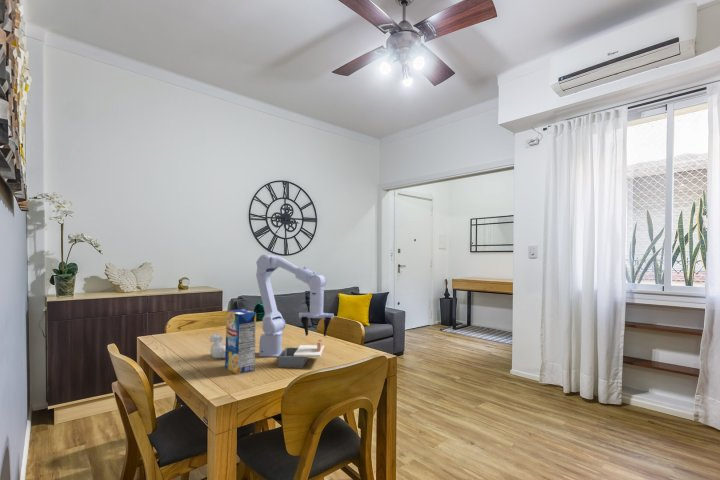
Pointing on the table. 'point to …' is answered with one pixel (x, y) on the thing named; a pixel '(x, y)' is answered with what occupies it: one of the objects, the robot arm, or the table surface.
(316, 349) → the carton lid
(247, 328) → the beverage box
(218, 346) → the bust
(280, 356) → the carton
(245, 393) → the table surface
